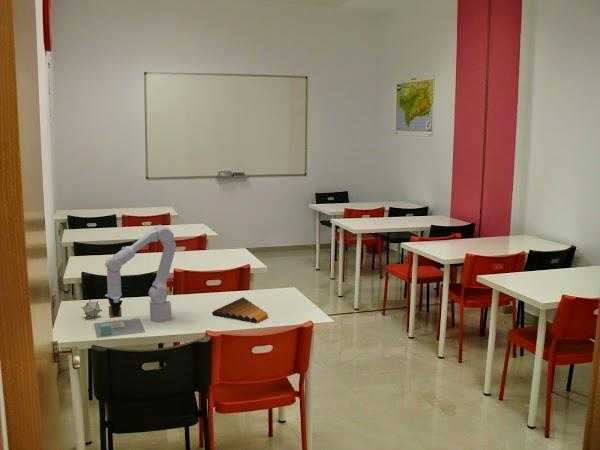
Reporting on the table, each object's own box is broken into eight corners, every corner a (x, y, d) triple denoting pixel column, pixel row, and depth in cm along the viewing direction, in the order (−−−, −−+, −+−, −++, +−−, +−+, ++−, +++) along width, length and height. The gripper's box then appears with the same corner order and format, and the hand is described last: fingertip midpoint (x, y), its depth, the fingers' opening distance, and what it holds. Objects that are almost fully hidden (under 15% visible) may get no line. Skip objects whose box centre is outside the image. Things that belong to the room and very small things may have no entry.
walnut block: (120, 313, 271) (120, 305, 270) (121, 316, 266) (121, 308, 266) (109, 314, 269) (108, 306, 269) (109, 318, 265) (109, 309, 264)
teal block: (110, 331, 260) (110, 322, 259) (111, 334, 256) (110, 325, 256) (100, 332, 259) (100, 323, 258) (101, 335, 255) (101, 326, 254)
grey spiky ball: (91, 326, 280) (80, 313, 274) (85, 315, 286) (75, 303, 280) (108, 315, 283) (98, 302, 276) (102, 305, 289) (92, 292, 282)
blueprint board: (139, 320, 278) (139, 318, 278) (145, 334, 260) (145, 331, 260) (93, 325, 271) (93, 323, 271) (96, 339, 253) (96, 337, 252)
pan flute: (240, 302, 308) (212, 316, 286) (240, 296, 308) (211, 309, 286) (283, 309, 297) (257, 324, 275) (283, 303, 297) (257, 317, 275)
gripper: (103, 281, 271) (104, 310, 273) (105, 289, 257) (107, 319, 260) (119, 279, 273) (120, 308, 275) (123, 287, 260) (124, 318, 262)
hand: (115, 314), depth 268 cm, fingers closed on walnut block, 5 cm apart
